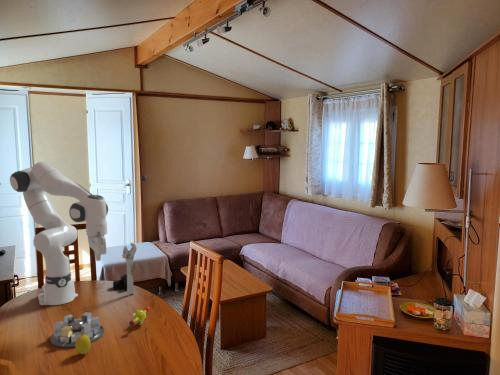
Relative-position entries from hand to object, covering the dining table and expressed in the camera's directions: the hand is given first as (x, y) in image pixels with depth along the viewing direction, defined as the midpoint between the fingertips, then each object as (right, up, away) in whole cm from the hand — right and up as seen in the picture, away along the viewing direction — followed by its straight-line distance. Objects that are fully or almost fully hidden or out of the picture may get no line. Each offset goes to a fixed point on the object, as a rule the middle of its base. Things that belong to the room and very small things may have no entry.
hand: (97, 260), depth 180 cm
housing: (-4, -30, -12) cm, 33 cm away
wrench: (+5, -27, +32) cm, 42 cm away
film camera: (-3, -26, +43) cm, 50 cm away
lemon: (+5, -32, -28) cm, 42 cm away
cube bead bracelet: (-4, -29, -12) cm, 32 cm away
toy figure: (+20, -30, -1) cm, 36 cm away
